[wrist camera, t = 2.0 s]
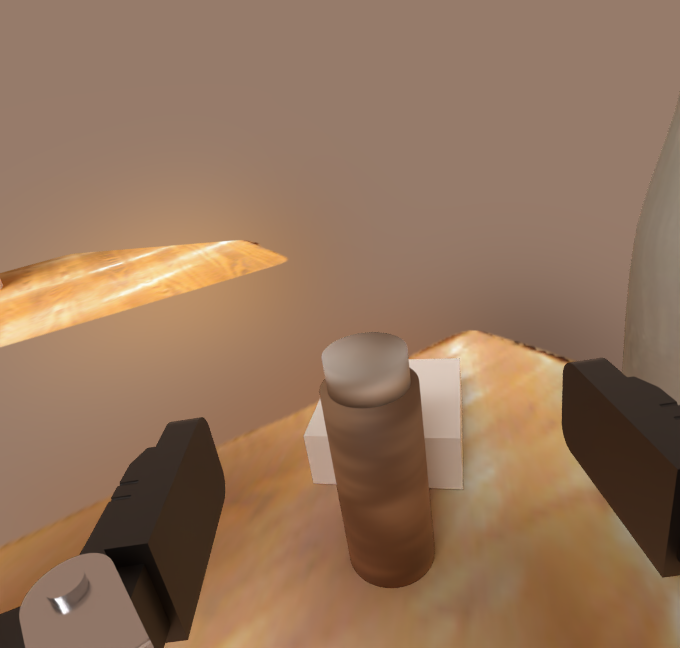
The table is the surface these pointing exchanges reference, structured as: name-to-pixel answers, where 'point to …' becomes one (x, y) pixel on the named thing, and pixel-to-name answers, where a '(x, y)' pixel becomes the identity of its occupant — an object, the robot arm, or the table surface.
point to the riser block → (438, 423)
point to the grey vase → (657, 277)
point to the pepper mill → (379, 457)
